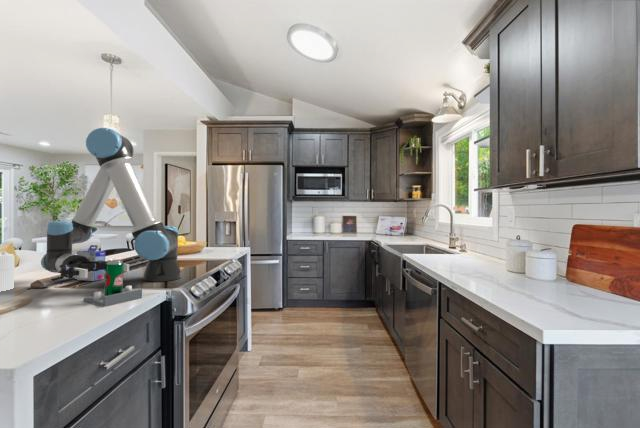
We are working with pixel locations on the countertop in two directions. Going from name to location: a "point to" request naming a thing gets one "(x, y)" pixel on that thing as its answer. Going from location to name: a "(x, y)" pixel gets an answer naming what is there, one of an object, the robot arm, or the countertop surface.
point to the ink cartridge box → (93, 256)
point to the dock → (115, 297)
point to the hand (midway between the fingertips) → (108, 270)
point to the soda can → (114, 277)
